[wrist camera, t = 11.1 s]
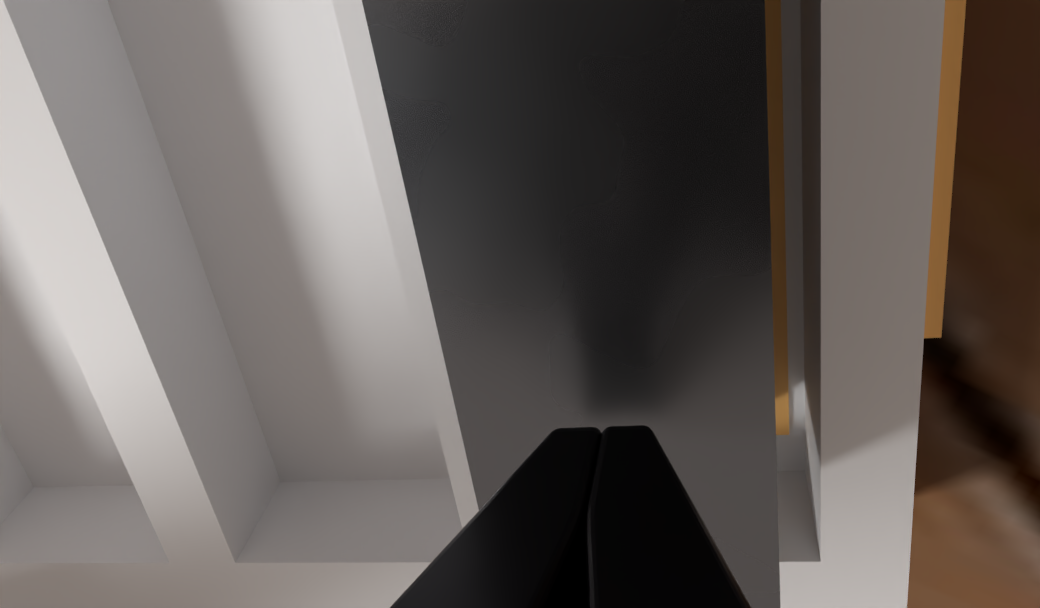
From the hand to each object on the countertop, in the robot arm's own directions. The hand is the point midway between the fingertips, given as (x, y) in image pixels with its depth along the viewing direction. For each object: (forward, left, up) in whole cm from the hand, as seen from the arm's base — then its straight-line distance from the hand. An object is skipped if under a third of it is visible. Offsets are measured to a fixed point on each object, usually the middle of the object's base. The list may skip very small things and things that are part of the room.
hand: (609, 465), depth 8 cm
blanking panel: (0, 0, -9) cm, 9 cm away
